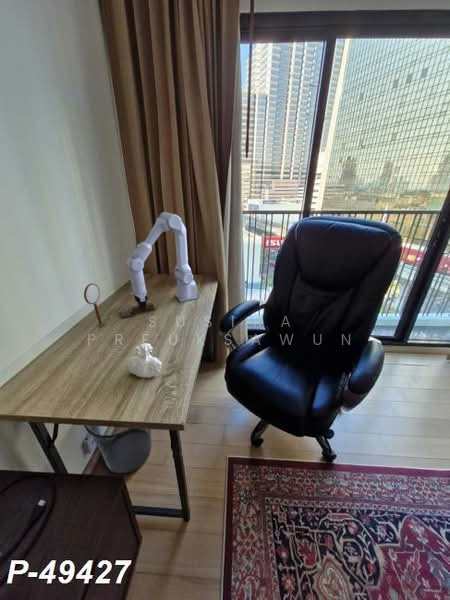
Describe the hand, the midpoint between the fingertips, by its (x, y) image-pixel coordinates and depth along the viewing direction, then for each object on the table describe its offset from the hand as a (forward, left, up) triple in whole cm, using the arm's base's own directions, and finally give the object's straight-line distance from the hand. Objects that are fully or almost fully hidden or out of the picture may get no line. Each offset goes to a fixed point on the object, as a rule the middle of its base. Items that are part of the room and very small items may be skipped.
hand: (142, 308), depth 121 cm
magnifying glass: (+19, +5, -2) cm, 20 cm away
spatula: (+2, 0, -1) cm, 3 cm away
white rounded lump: (+6, +43, -2) cm, 43 cm away
